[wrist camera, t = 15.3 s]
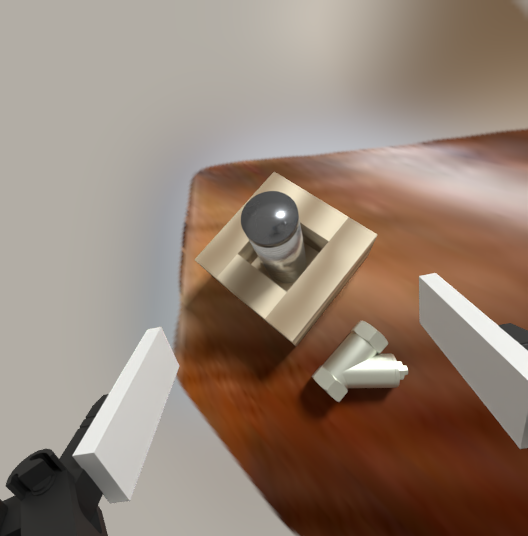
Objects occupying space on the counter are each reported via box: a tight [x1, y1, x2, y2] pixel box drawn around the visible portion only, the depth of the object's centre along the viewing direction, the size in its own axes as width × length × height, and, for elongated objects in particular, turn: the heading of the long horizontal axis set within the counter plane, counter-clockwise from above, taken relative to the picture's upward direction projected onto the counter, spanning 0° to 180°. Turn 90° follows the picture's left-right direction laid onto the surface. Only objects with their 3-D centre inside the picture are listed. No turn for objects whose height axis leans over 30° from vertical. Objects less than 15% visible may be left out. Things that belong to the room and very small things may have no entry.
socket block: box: [195, 172, 377, 346], centre depth 34 cm, size 14×14×6 cm
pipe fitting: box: [312, 320, 408, 402], centre depth 31 cm, size 8×4×7 cm
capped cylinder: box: [241, 191, 307, 283], centre depth 31 cm, size 5×5×12 cm
